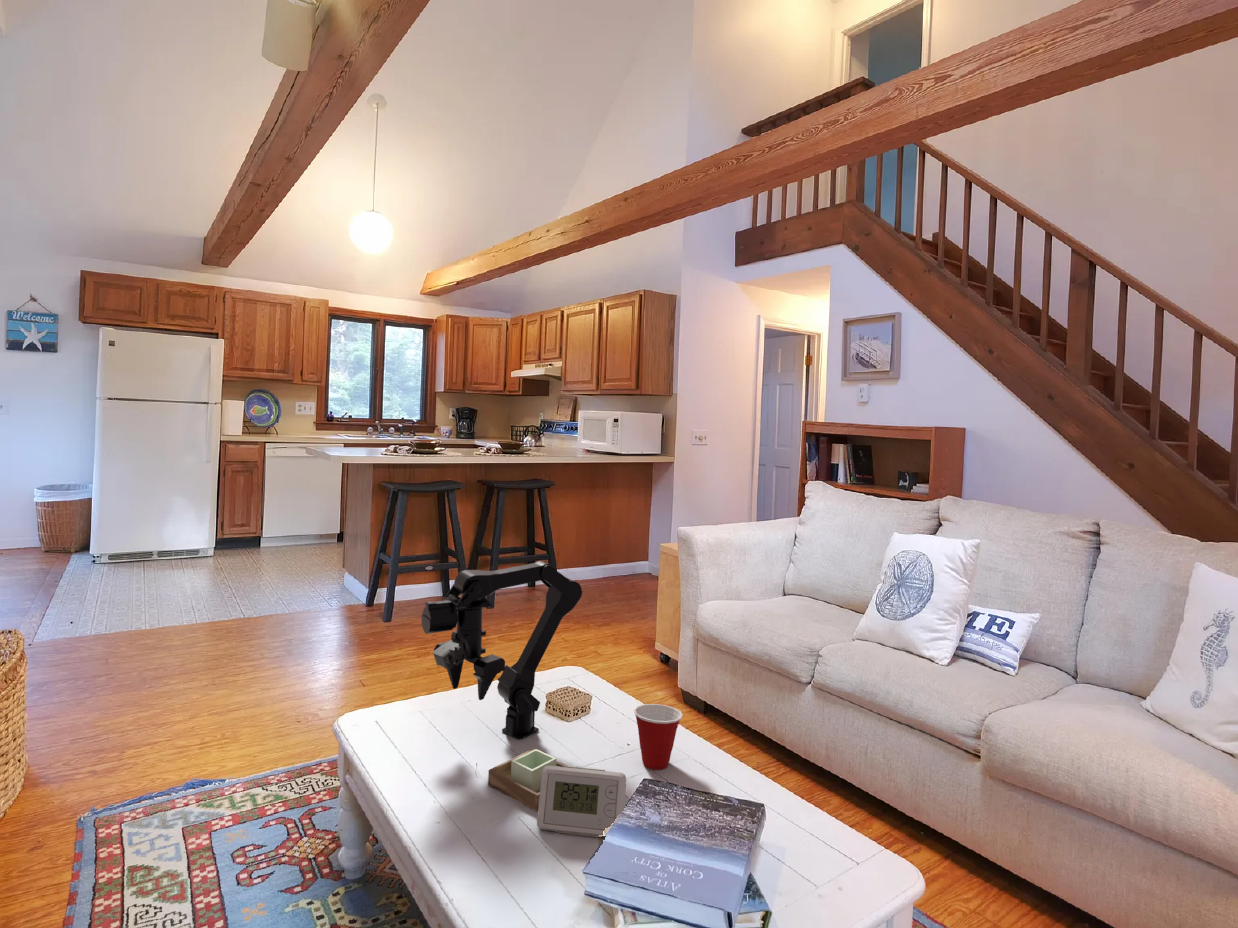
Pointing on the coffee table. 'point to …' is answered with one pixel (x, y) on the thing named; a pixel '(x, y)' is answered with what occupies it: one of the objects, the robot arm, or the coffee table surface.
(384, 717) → the coffee table surface
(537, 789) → the small crate
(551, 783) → the digital clock
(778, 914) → the coffee table surface
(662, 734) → the plastic cup
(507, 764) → the big crate
